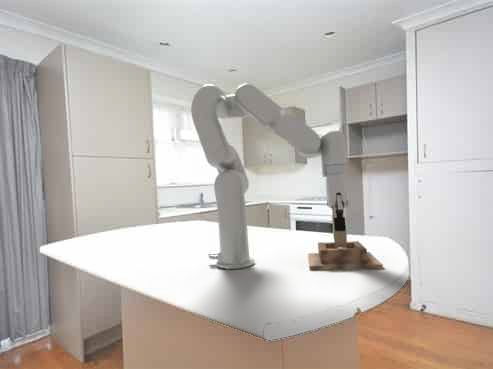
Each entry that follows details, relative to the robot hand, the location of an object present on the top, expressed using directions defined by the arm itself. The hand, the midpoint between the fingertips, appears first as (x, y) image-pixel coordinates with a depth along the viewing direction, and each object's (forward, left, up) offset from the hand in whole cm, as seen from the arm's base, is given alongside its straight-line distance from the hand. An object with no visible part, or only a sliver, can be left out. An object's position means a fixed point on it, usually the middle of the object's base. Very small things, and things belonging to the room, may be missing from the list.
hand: (339, 229), depth 90 cm
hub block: (0, 0, -10) cm, 10 cm away
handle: (0, 0, -6) cm, 6 cm away
